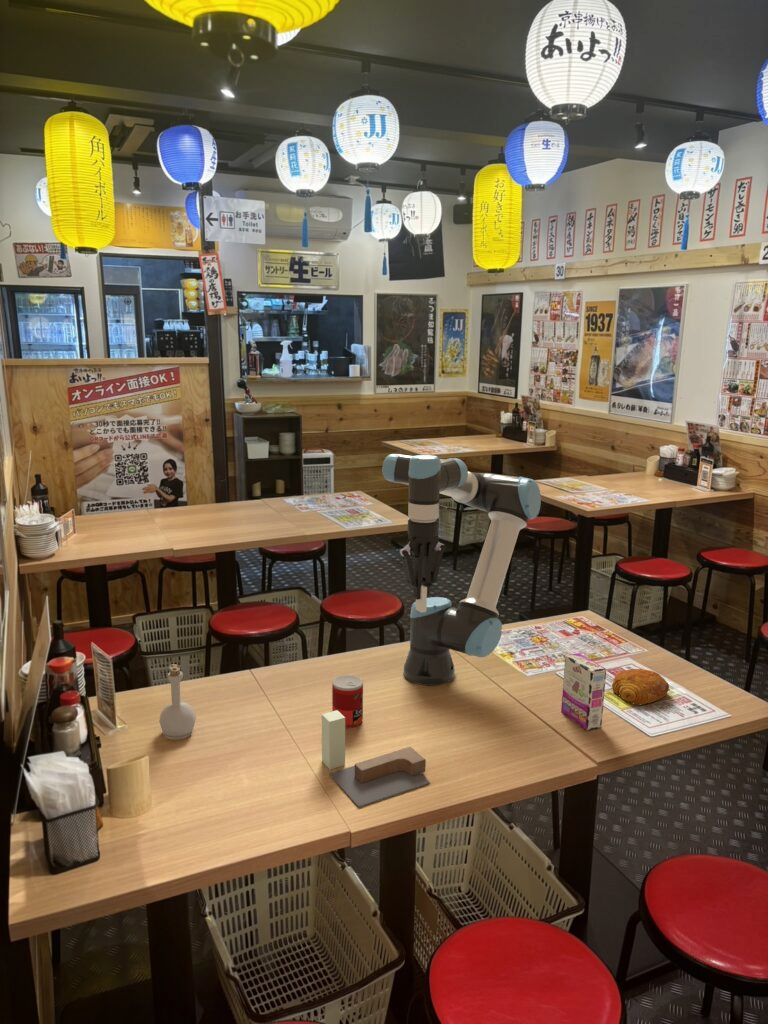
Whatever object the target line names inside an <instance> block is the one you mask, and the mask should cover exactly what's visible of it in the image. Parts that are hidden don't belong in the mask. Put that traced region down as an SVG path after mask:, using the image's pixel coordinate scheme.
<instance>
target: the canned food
mask: <svg viewBox="0 0 768 1024" xmlns="http://www.w3.org/2000/svg"><path fill="white" fill-rule="evenodd" d="M331 686H332V687H331V694H332V695H331V697H332V698H331V701H332V702H331V703H332V704H331V705H332V707H331V708H332V709H331V710H332V711H336V710H338V711H339V712H340V713H341V714H342V715H343V716H344V717H345V729H346V728H354V727H358V726H359V725H360V724H362V722H363V719H364V718H363V717H364V681H363V680H362V679H361V678H360V677H358V676H354V675H340V676H337V677H335V678H334V679H333V680H332V685H331ZM332 711H331V712H332Z"/></svg>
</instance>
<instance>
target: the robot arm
mask: <svg viewBox="0 0 768 1024" xmlns="http://www.w3.org/2000/svg"><path fill="white" fill-rule="evenodd" d="M381 468H382V469H381V471H382V476H383V478H384V479H385V480H386V481H388V482H391V483H395V484H403V485H406V486H408V501H407V502H408V505H407V506H408V508H407V509H408V511H407V512H408V513H407V517H408V518H409V519H408V520H407V534H408V535H407V536H408V538H407V540H406V545H404V547H403V548H401V547H400V548H399V549H398V551H397V552H398V554H399V556H400V557H401V560H402V566H403V570H404V575H405V580H406V584H408V585H410V586H411V587H413V599H415V601H414V602H413V603H412V605H411V607H410V609H411V610H410V615H409V617H410V618H409V619H410V626H409V627H410V630H409V631H410V633H409V637H410V638H409V640H410V641H409V651H408V654H407V657H406V660H405V662H404V664H403V676H404V677H405V679H406V680H408V681H410V682H412V683H415V684H418V685H422V686H423V685H424V686H439V685H443V684H447V683H449V682H451V681H453V680H454V678H455V672H456V671H455V670H456V669H455V665H454V661H453V657H452V655H451V652H450V650H453V651H456V652H459V653H462V654H464V655H465V654H466V655H467V656H469V657H477V658H486V657H488V656H490V655H491V654H492V653H493V652H494V651H495V650H496V648H497V647H498V644H499V643H500V641H501V637H502V634H503V631H502V630H503V624H502V622H501V620H500V619H499V615H500V613H499V611H498V610H497V604H498V600H499V597H500V595H501V591H502V588H503V585H504V581H505V578H506V575H507V572H508V569H509V565H510V563H511V559H512V555H513V554H514V549H515V546H516V543H517V539H518V536H519V533H520V531H521V530H523V529H524V528H526V527H527V526H528V522H529V520H535V519H536V518H537V517H538V515H539V513H540V510H541V504H542V503H541V502H542V497H541V496H542V494H541V490H540V486H539V484H538V483H537V482H536V480H534V479H532V478H528V477H524V476H516V475H515V476H514V475H505V474H498V473H492V472H491V473H490V472H471V471H469V470H468V466H467V465H466V463H465V462H464V461H463V460H461V459H460V458H456V457H455V458H450V457H449V458H446V459H443V458H440V457H439V456H437V455H431V454H430V455H429V454H419V455H409V454H408V455H406V454H402V453H391V454H390V453H389V454H388V455H387V456H386V457H385V459H384V460H383V463H382V467H381ZM440 494H441V495H445V496H447V497H451V498H452V499H453V500H454V501H455V502H457V503H460V504H463V505H466V506H469V507H471V508H473V509H476V510H480V511H483V512H488V514H487V515H488V518H489V519H490V524H489V527H488V531H487V533H486V537H485V540H484V543H483V546H482V548H481V552H480V555H479V559H478V561H477V565H476V568H475V571H474V574H473V578H472V579H471V583H470V586H469V588H468V589H469V590H468V592H467V595H466V598H464V599H461V600H460V601H459V603H458V606H457V607H456V608H455V607H452V601H451V600H450V598H446V597H442V596H441V597H440V596H436V597H435V596H433V597H432V596H431V597H429V596H430V588H431V587H432V586H433V583H436V582H437V579H438V576H439V571H440V567H441V563H442V560H443V559H442V558H443V554H444V553H445V551H446V550H447V545H446V544H444V543H442V542H440V541H439V537H438V534H439V522H440V521H439V520H438V519H439V518H440ZM411 554H412V555H411ZM411 556H412V558H411Z"/></svg>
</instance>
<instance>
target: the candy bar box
mask: <svg viewBox="0 0 768 1024" xmlns="http://www.w3.org/2000/svg"><path fill="white" fill-rule="evenodd" d="M564 657H565V658H564V671H563V681H562V683H563V684H562V695H561V696H562V697H561V709H560V710H561V713H562V714H563V715H565V716H566V717H568V718H569V719H571V720H572V721H573V722H574V723H576V724H577V725H578V726H580V727H582V728H583V729H584V730H586V731H591V730H597V729H600V728H602V726H603V725H602V724H603V711H604V701H605V700H604V699H605V690H606V686H605V685H606V677H607V668H606V667H604V666H602V665H601V664H599V663H597V662H596V661H594V660H591V659H590V658H588V657H587V656H586V655H583V654H582V653H579V652H578V653H573V654H572V653H571V654H567V655H565V656H564Z"/></svg>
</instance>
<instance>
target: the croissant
mask: <svg viewBox="0 0 768 1024" xmlns="http://www.w3.org/2000/svg"><path fill="white" fill-rule="evenodd" d="M611 688H612V693H614V694H615V693H616V694H617V695H620V696H619V697H621V699H622V698H623V699H622V700H624V701H626V702H628V703H630V702H631V704H632V703H634V704H633V705H636V704H643V705H647V703H648V704H651V703H654V702H655V700H656V701H658V700H660V699H659V698H661V699H662V698H664V697H665V696H666V695H667V694H668V692H669V690H670V684H669V683H668V682H667V681H666V679H665V678H664V677H662V676H661V674H659V673H658V672H656V671H653V670H648V669H643V668H631V669H627V670H622V671H619V672H618V673H616V674H615V675H614V678H613V681H612V684H611ZM616 694H615V695H616ZM617 695H616V696H617ZM653 701H654V702H653Z"/></svg>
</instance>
